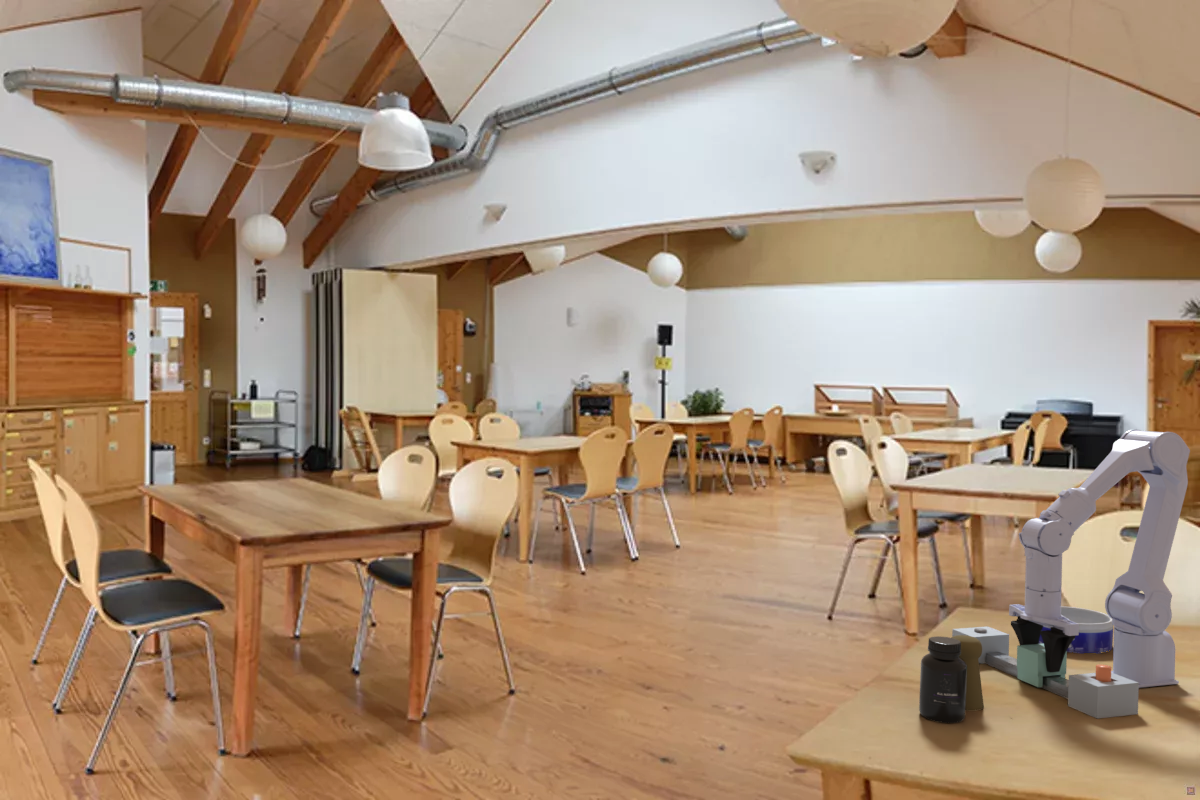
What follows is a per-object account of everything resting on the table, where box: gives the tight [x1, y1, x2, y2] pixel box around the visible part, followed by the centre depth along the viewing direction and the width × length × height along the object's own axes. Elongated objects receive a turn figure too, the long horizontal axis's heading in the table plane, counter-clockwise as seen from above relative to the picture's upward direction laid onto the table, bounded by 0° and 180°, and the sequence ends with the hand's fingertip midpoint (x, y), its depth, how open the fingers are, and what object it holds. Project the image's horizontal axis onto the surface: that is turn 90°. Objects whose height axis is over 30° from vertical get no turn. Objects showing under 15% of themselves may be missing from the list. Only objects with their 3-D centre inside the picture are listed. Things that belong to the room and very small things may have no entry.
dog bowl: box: [1039, 605, 1114, 654], centre depth 193 cm, size 15×15×6 cm
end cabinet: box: [1067, 672, 1140, 719], centre depth 153 cm, size 8×6×5 cm
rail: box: [985, 652, 1069, 700], centre depth 168 cm, size 3×22×2 cm, turn 17°
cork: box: [950, 635, 985, 712], centre depth 155 cm, size 6×6×11 cm
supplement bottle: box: [918, 636, 967, 724], centre depth 149 cm, size 7×7×12 cm
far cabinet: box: [951, 625, 1010, 664], centre depth 182 cm, size 8×6×5 cm
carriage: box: [1016, 643, 1068, 688], centre depth 166 cm, size 6×5×6 cm
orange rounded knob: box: [1095, 663, 1112, 682], centre depth 153 cm, size 2×2×4 cm
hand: (1041, 666), depth 166 cm, fingers closed on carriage, 5 cm apart
